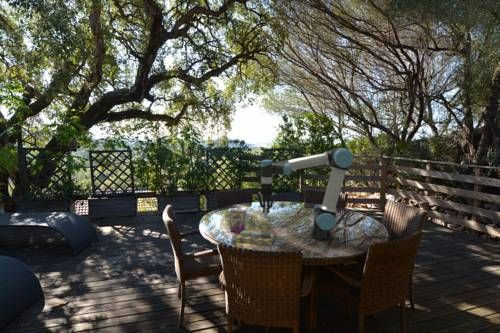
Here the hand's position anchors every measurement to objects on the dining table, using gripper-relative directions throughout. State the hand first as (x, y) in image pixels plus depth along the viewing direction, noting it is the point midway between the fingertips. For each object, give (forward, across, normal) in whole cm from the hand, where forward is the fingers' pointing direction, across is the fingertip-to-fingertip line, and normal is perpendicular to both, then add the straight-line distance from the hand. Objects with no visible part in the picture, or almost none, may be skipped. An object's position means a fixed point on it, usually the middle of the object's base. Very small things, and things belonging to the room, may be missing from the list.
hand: (266, 217), depth 210 cm
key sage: (+14, -14, 0) cm, 20 cm away
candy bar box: (+17, -24, +14) cm, 32 cm away
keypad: (+16, -7, 0) cm, 18 cm away
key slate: (+14, -7, 0) cm, 16 cm away
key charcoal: (+14, 0, 0) cm, 14 cm away
